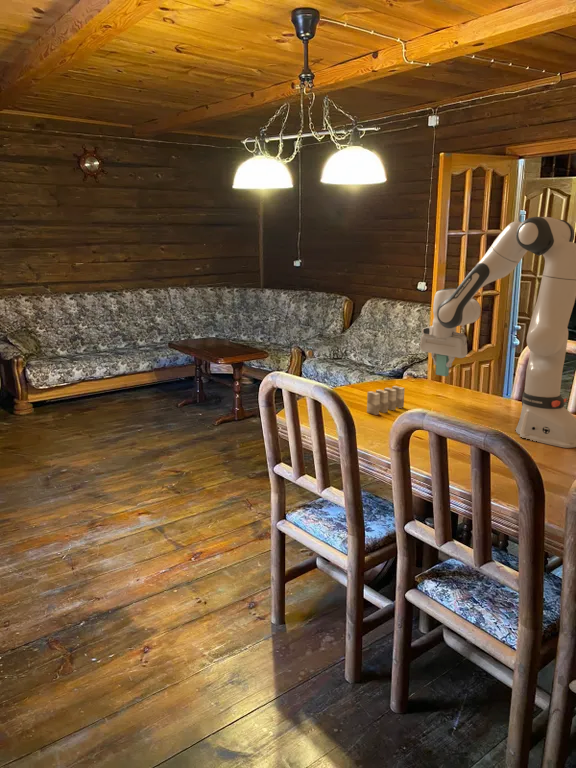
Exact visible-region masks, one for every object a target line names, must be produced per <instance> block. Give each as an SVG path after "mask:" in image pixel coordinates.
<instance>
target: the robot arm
mask: <svg viewBox="0 0 576 768" xmlns="http://www.w3.org/2000/svg"><path fill="white" fill-rule="evenodd" d="M498 234H499V235H498V236H496V238H495V239H494V240H493V243H492V244H491V246H490V247H489V248H488V249H487V251H486V253H485V254H484V255H483V256H482V258H481V259H480V260H479V261H478V262H477V263H476V264H475V266H474V267H473V268H472V269H471V270H470V272H469V273H467V275H466V277H464V279H463V280H462V282H460V284H459V285H458V286H457V288H454V287H449V288H444V289H443V288H442V289H439V290H437V291H436V293H435V294H434V298H433V305H432V310H433V311H432V313H433V319H432V325H430V326H427V327H423V328H422V329H421V336H420V341H419V342H420V343H419V344H420V345H419V349H420V350H421V352H423V353H430V354H431V358H432V361H433V365H435V366H436V357H437V354H440V355H446V356H448V359H449V361H448V362H447V363H446V367H449V368H453V367H452V366H453V362H454V361H455V359H456V358H458V359H463V358H465V357H467V355H468V343H467V341H468V339H467V336H466V335H465V334H464V333H462V332H458V331H457V327H461V326H465V325H470V324H473V323H475V322H477V321H478V320H479V319H480V317H481V315H482V308H481V304H480V302H478V301H477V300H476V299H474V297H475V295H477V293H478V292H479V291H480V290H481V289H482V288H483V287H485V286H487V285H489V284H490V283H493V282H495V281H498V280H501V279H503V278H505V277H507V276H508V275H509V274H511V273H512V272H513V271H514V270H515V268H516V267H517V266H518V265H519V264H520V262H521V261H522V259H523V257H524V256H525V255H526V253H528V252H530V253H532V254H534V255H536V256H537V257H538V256H543V258H544V267H543V271H542V275H541V281H540V285H539V290H538V294H537V299H536V303H535V305H534V309H533V312H532V315H531V320H530V323H529V327H528V330H527V335H526V345H527V347H528V349H529V350H530V351H529V355H528V362H527V366H526V373H525V381H524V390H523V392H522V396H521V397H522V399H521V407H522V408H521V412H520V416H519V419H518V420H519V421H518V423H517V426H516V427H515V430H516V431H515V432H516V434H518V435H519V434H520V435H519V438H520V437H522V438H526V439H525V440H527V439H530V440H529V441H532V440H533V441H532V442H536V441H537V442H536V443H541V444H545V445H550V446H554V447H560V448H565V449H567V448H568V449H569V448H570V449H572V448H576V417H575V416H574V415H573V414H572V413H571V412H570V411H568V409H567V408H566V407H565V403H567V402H568V401H567V399H568V398H563V396H562V394H561V387H562V386H561V385H562V379H563V370H564V364H565V358H566V353H567V352H566V351H567V348H568V347H567V346H568V341H569V329H568V327H569V323H570V318H571V315H572V313H573V308H574V306H575V303H576V242H574V240H575V230H574V228H573V226H572V225H571V224H570V223H569V222H567V221H566V220H564V219H557V218H554V217H552V216H551V217H550V216H532V217H528V218H526V219H524V220H523V221H517V220H516V221H512V222H510V223H509V224H508V225H507V226H505V228H504V229H503V230H502V231H501V232H500V233H498ZM522 438H521V439H522Z"/></svg>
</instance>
